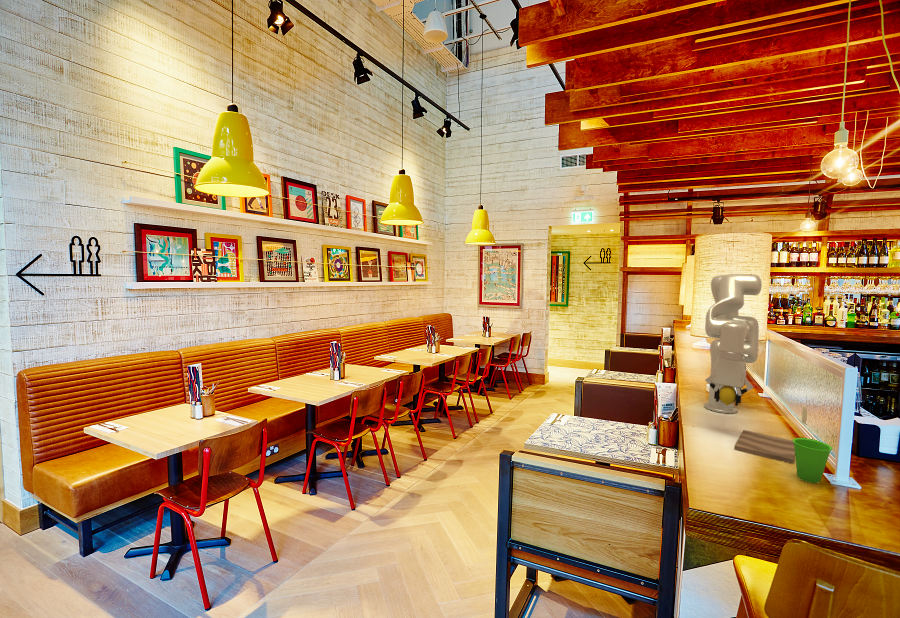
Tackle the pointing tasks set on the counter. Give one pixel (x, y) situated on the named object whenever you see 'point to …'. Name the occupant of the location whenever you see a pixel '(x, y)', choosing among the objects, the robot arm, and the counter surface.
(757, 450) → the serving board
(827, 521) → the counter surface
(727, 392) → the lemon
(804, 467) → the cup
